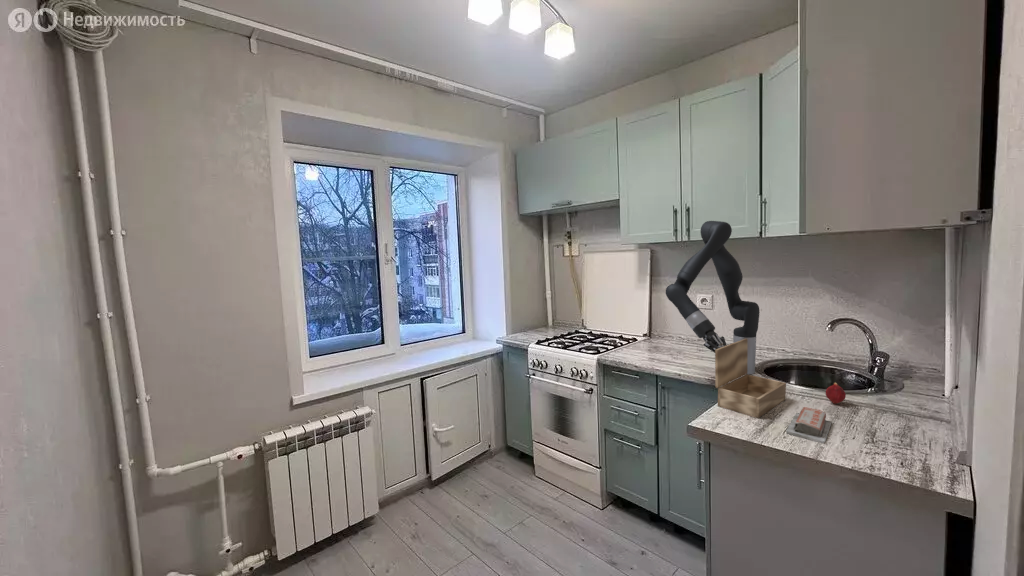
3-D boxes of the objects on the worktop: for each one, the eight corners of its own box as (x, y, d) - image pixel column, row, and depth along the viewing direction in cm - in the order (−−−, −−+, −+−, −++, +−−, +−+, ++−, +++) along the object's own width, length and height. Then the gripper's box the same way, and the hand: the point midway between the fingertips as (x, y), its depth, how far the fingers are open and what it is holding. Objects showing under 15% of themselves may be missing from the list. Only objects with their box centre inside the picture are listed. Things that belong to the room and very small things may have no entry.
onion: (849, 406, 148) (850, 384, 147) (835, 407, 147) (837, 386, 146) (834, 400, 154) (835, 379, 153) (821, 401, 153) (822, 381, 152)
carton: (717, 406, 151) (718, 388, 150) (746, 390, 165) (746, 374, 165) (758, 418, 140) (759, 399, 139) (785, 400, 154) (786, 383, 153)
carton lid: (717, 388, 150) (715, 387, 151) (747, 373, 165) (745, 373, 166) (717, 350, 149) (714, 349, 149) (747, 338, 164) (745, 338, 164)
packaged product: (796, 403, 141) (832, 411, 134) (795, 416, 142) (831, 424, 135) (786, 420, 128) (825, 430, 121) (785, 435, 129) (824, 445, 122)
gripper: (697, 321, 160) (728, 357, 152) (714, 316, 168) (744, 351, 159) (684, 331, 165) (713, 368, 156) (702, 327, 172) (730, 361, 164)
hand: (729, 359), depth 158 cm, fingers closed
